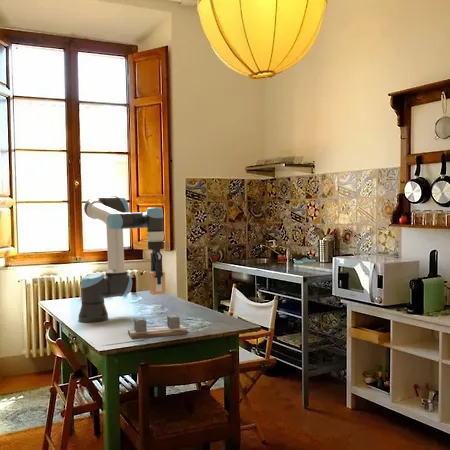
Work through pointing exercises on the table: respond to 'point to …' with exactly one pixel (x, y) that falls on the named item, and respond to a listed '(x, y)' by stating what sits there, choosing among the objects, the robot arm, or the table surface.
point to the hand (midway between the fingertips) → (157, 290)
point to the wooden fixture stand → (157, 328)
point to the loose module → (153, 283)
